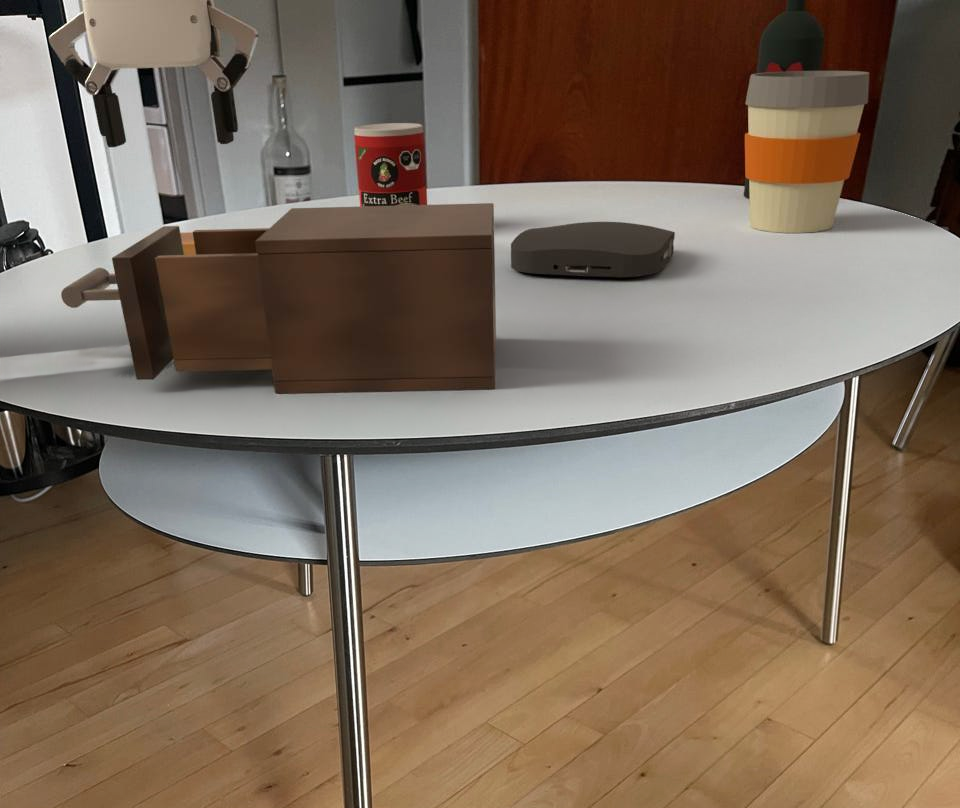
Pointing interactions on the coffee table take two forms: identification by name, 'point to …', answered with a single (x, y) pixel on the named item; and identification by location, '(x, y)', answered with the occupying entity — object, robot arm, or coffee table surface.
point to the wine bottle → (790, 45)
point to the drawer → (186, 301)
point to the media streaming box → (593, 250)
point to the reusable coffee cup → (801, 146)
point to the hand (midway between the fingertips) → (171, 144)
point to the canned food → (391, 164)
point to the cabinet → (380, 298)
